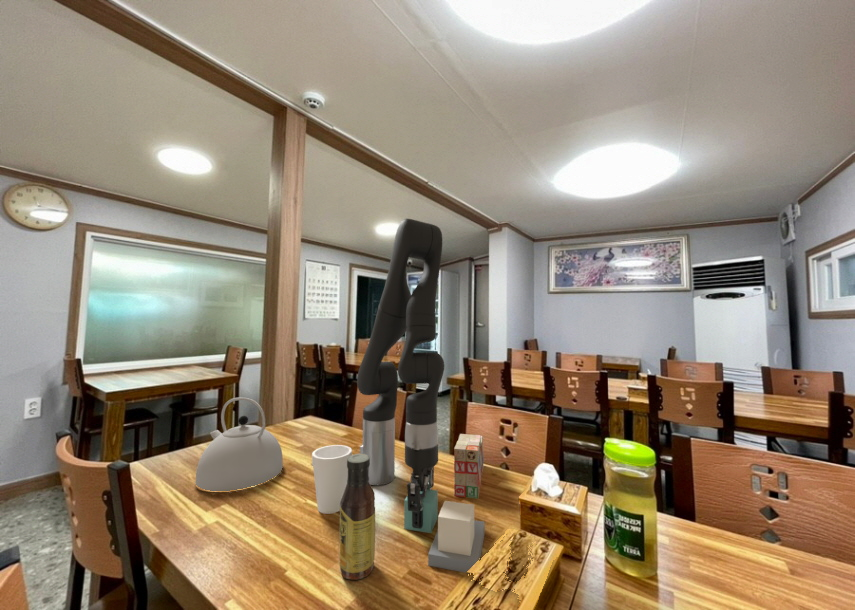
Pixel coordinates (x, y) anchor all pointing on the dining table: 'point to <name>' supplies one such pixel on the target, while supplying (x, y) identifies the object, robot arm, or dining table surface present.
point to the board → (458, 560)
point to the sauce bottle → (357, 521)
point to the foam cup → (330, 476)
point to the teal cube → (424, 512)
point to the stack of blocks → (468, 465)
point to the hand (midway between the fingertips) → (421, 518)
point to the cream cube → (456, 528)
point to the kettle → (239, 456)
